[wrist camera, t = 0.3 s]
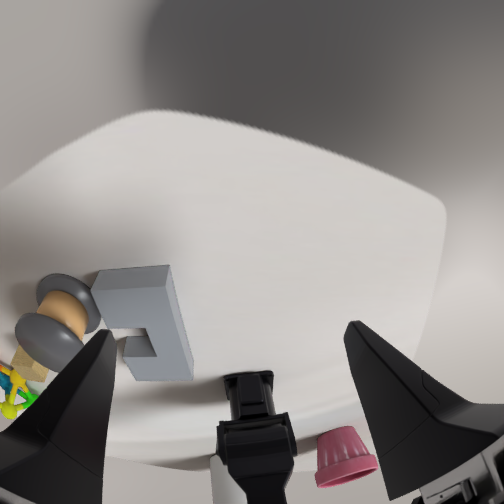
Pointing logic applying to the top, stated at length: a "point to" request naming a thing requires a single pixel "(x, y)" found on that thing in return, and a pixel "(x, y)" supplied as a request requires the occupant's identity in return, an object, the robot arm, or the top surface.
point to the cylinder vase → (224, 484)
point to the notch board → (146, 321)
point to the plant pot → (342, 458)
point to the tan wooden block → (28, 366)
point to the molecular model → (14, 392)
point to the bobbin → (58, 321)
